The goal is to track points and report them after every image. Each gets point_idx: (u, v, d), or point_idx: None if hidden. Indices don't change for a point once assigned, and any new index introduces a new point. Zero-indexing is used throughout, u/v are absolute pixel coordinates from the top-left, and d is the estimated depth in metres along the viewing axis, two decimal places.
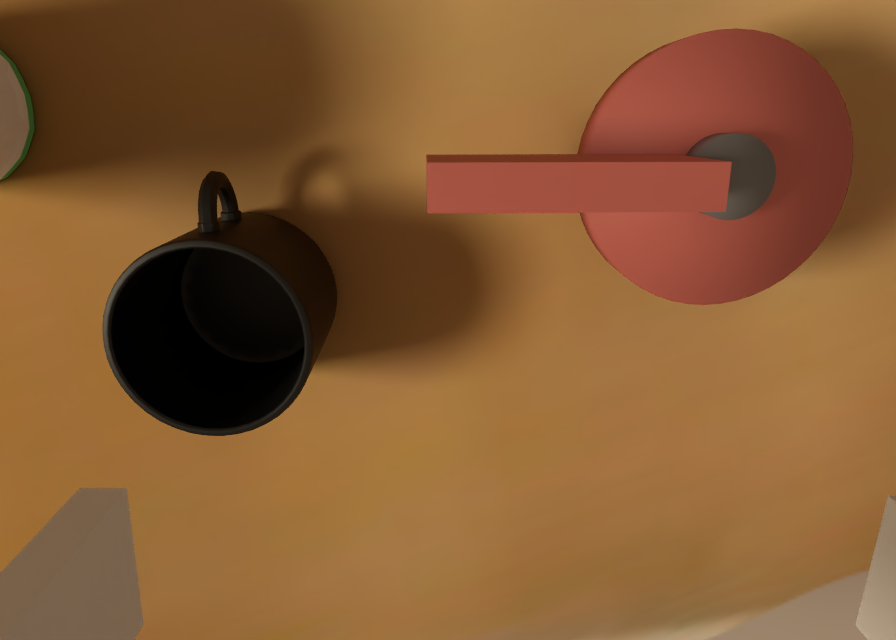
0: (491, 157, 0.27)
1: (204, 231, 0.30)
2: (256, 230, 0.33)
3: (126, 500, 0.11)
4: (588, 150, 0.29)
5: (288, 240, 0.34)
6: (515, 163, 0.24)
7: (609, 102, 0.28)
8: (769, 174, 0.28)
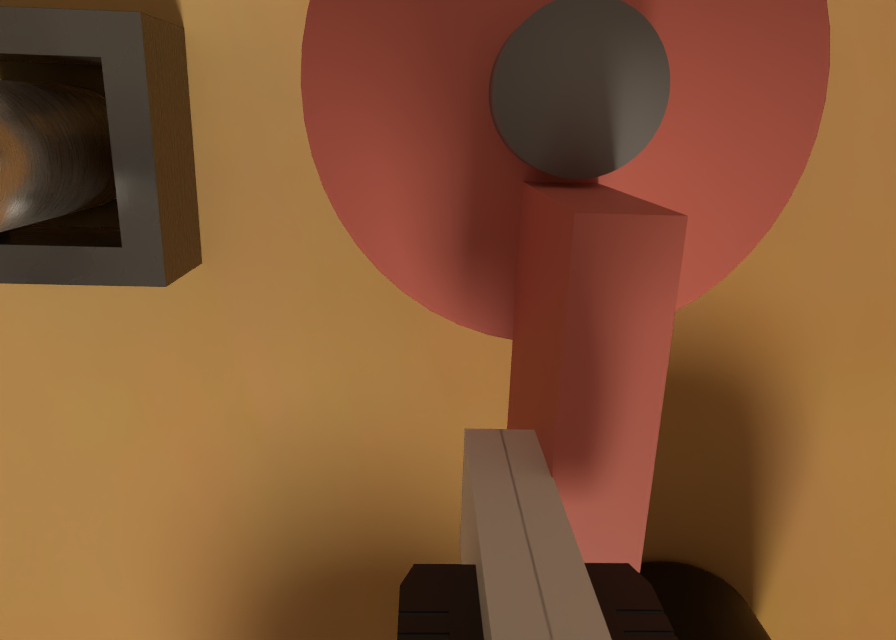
0: None
1: None
2: None
3: None
4: (506, 336, 0.17)
5: None
6: None
7: (427, 306, 0.16)
8: (583, 9, 0.13)
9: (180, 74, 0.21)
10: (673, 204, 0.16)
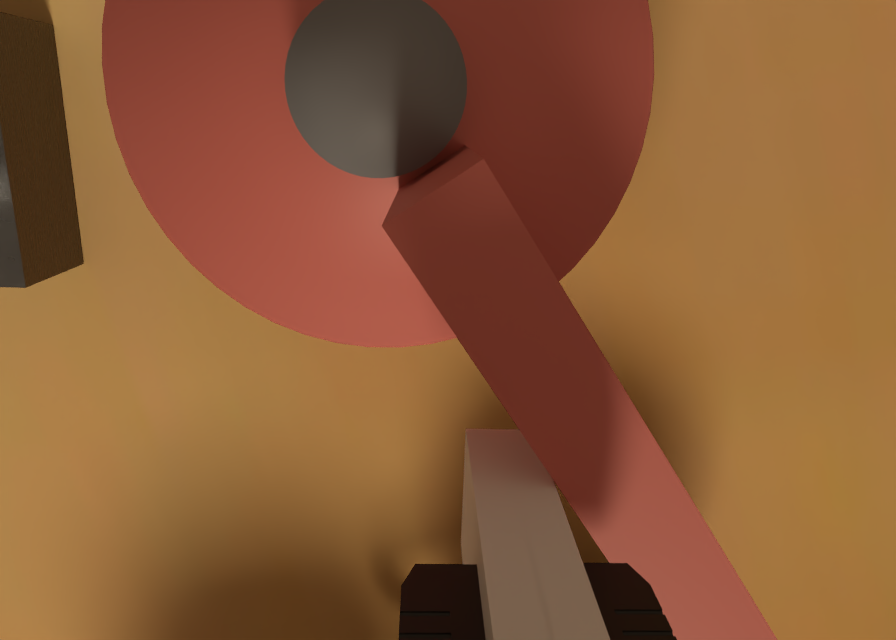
0: None
1: None
2: None
3: None
4: None
5: None
6: None
7: (396, 345, 0.16)
8: (326, 19, 0.13)
9: (47, 72, 0.21)
10: (546, 115, 0.15)
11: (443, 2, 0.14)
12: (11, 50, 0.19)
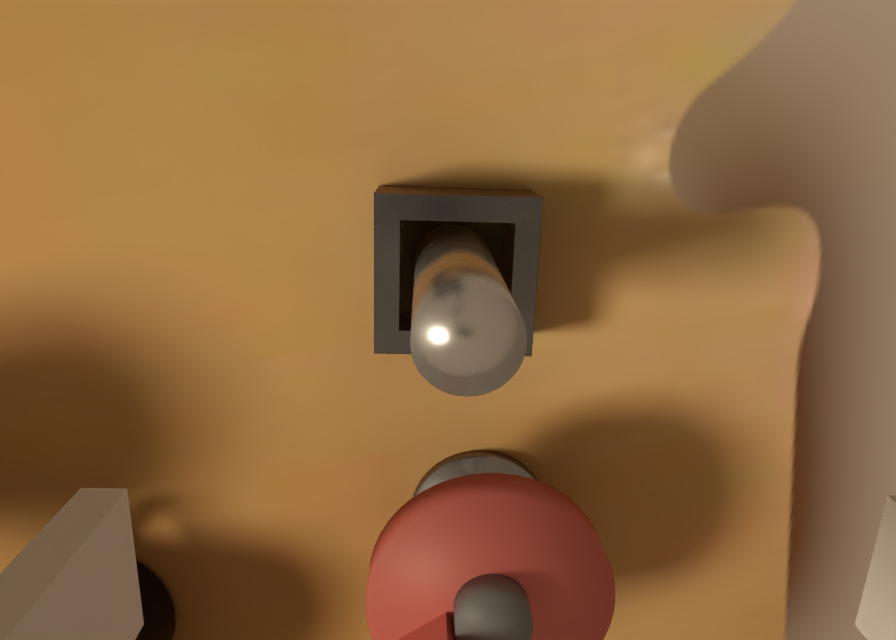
0: None
1: None
2: None
3: (126, 500, 0.11)
4: None
5: None
6: None
7: (366, 611, 0.32)
8: (520, 611, 0.30)
9: None
10: None
11: None
12: None
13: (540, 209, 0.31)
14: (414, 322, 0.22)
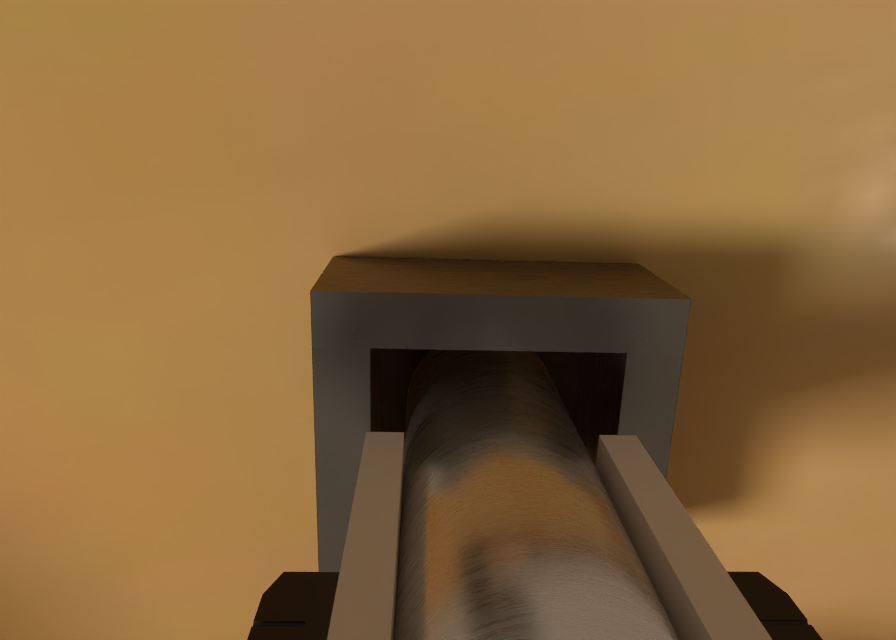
0: None
1: None
2: None
3: None
4: None
5: None
6: None
7: None
8: None
9: None
10: None
11: None
12: None
13: (683, 323, 0.14)
14: None
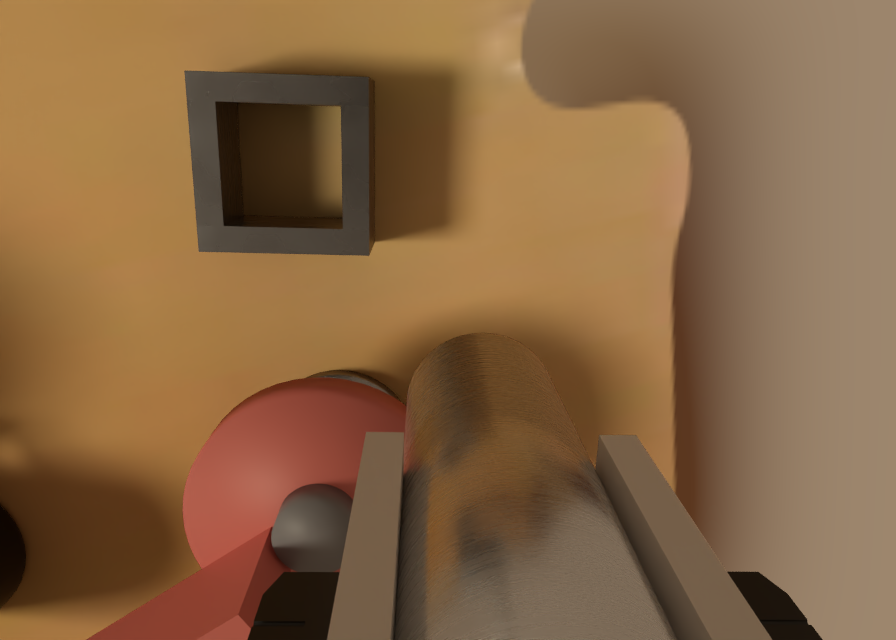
0: None
1: None
2: None
3: None
4: (201, 564, 0.30)
5: None
6: None
7: (185, 525, 0.30)
8: (341, 520, 0.28)
9: None
10: None
11: None
12: None
13: (366, 90, 0.29)
14: None
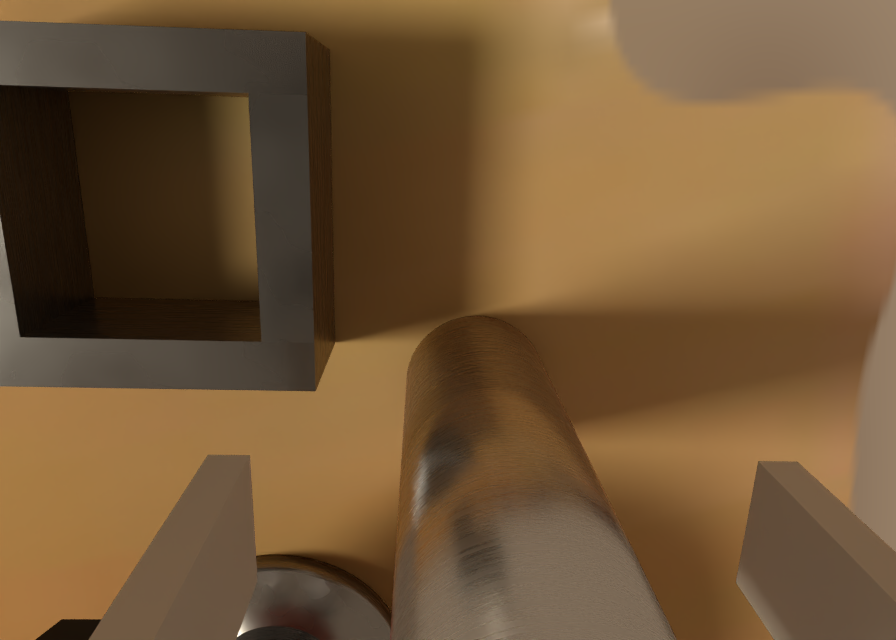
0: None
1: None
2: None
3: (249, 466, 0.12)
4: None
5: None
6: None
7: None
8: None
9: None
10: None
11: None
12: None
13: (302, 60, 0.13)
14: None
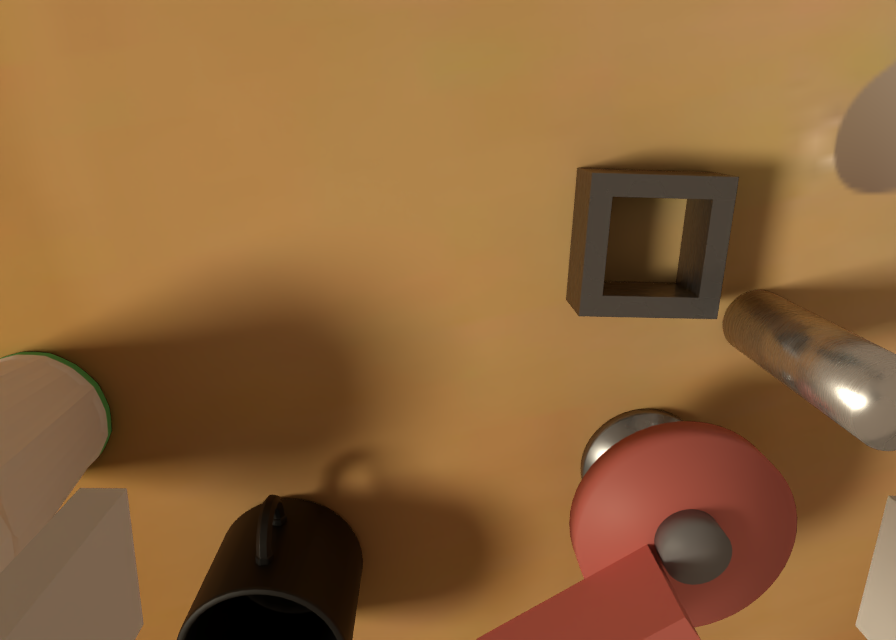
0: None
1: (261, 565, 0.37)
2: (301, 546, 0.39)
3: (126, 500, 0.11)
4: (583, 575, 0.37)
5: (326, 544, 0.40)
6: None
7: (577, 543, 0.36)
8: (722, 539, 0.34)
9: None
10: None
11: None
12: None
13: (735, 187, 0.35)
14: (858, 393, 0.28)
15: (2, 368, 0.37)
